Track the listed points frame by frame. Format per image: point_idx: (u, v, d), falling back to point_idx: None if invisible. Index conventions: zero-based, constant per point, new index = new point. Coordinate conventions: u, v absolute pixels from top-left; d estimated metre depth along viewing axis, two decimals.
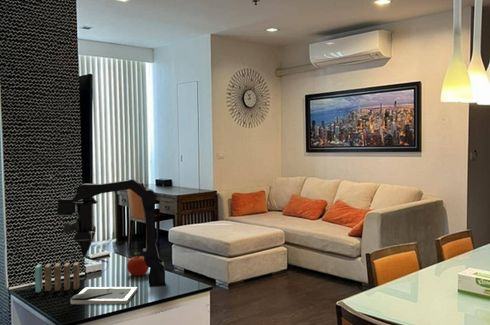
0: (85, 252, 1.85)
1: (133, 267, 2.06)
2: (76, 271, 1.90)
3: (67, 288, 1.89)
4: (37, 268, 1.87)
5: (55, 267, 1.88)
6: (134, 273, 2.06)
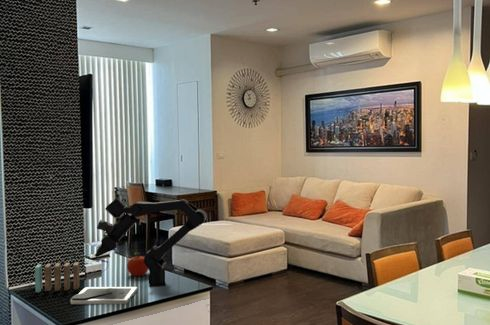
0: (99, 254, 1.90)
1: (133, 267, 2.06)
2: (76, 271, 1.90)
3: (67, 288, 1.89)
4: (37, 268, 1.87)
5: (55, 267, 1.88)
6: (134, 273, 2.06)
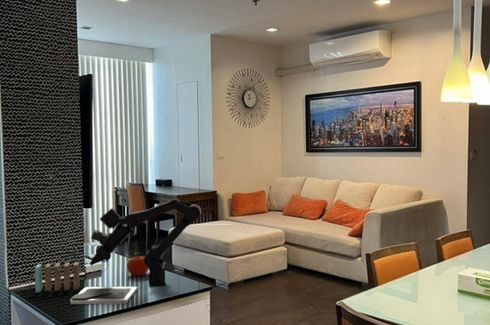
0: (93, 262, 1.93)
1: (133, 267, 2.06)
2: (76, 271, 1.90)
3: (67, 288, 1.89)
4: (37, 268, 1.87)
5: (55, 267, 1.88)
6: (134, 273, 2.06)
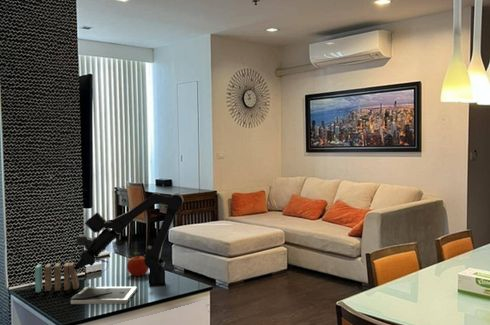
0: (78, 267, 1.91)
1: (133, 267, 2.06)
2: (72, 271, 1.90)
3: (67, 288, 1.89)
4: (37, 268, 1.87)
5: (55, 267, 1.88)
6: (134, 273, 2.06)
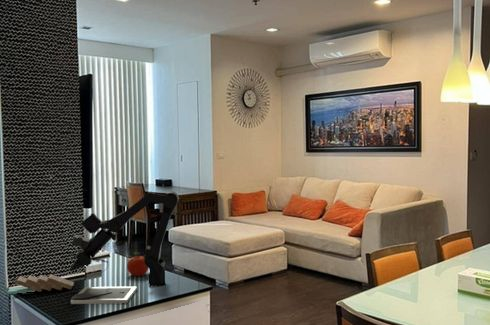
0: (74, 268, 1.91)
1: (133, 267, 2.06)
2: (54, 280, 1.88)
3: (60, 287, 1.89)
4: (8, 293, 1.85)
5: (27, 281, 1.85)
6: (134, 273, 2.06)
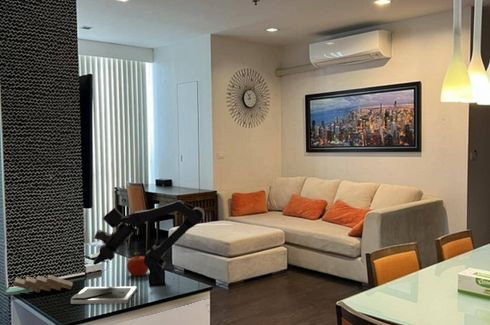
0: (97, 262, 1.93)
1: (133, 267, 2.06)
2: (53, 281, 1.88)
3: (59, 287, 1.89)
4: (6, 293, 1.84)
5: (26, 283, 1.84)
6: (134, 273, 2.06)
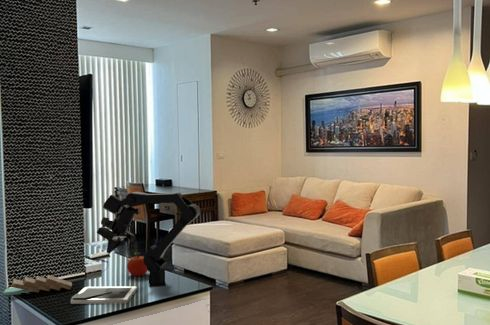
0: (109, 250, 1.96)
1: (133, 267, 2.06)
2: (53, 281, 1.88)
3: (59, 287, 1.88)
4: (4, 293, 1.83)
5: (25, 283, 1.83)
6: (134, 273, 2.06)
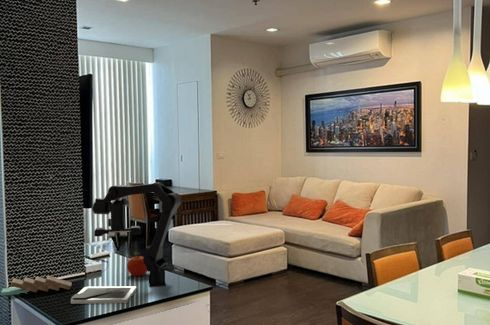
0: (116, 247, 1.99)
1: (133, 267, 2.06)
2: (52, 281, 1.88)
3: (58, 287, 1.88)
4: (2, 293, 1.83)
5: (23, 283, 1.84)
6: (134, 273, 2.06)
